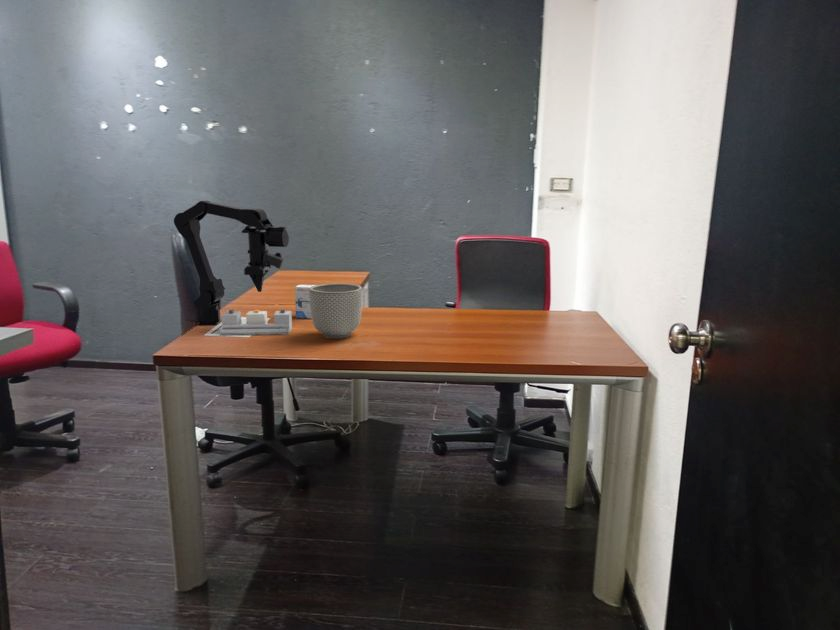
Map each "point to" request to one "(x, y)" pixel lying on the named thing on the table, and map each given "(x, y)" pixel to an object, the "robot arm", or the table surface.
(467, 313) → the table surface
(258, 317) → the module
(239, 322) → the block
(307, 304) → the ink box
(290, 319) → the block
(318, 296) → the planter
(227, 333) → the rail
